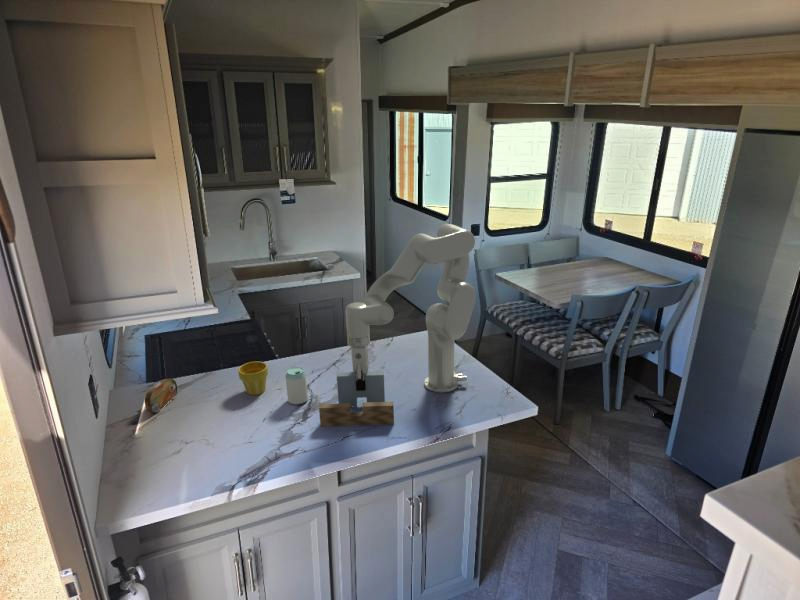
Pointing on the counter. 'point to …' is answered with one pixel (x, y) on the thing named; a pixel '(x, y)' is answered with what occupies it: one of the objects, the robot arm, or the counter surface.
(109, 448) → the counter surface
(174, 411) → the counter surface
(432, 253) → the robot arm
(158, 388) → the tin
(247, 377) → the plant pot
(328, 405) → the walnut slotted board
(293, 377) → the can
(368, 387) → the plain grey board
